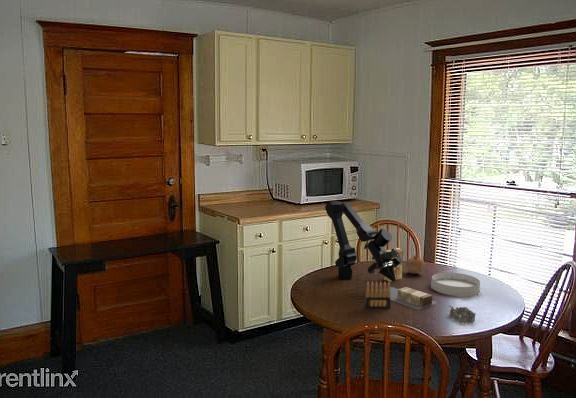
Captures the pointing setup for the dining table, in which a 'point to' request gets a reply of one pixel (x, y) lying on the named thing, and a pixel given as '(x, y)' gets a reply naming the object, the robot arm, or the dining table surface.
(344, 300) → the dining table surface
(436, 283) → the dish
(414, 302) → the birch block
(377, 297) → the ammunition clip
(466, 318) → the dark green lumpy clump
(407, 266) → the onion
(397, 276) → the candy box
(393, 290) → the rubber mat
